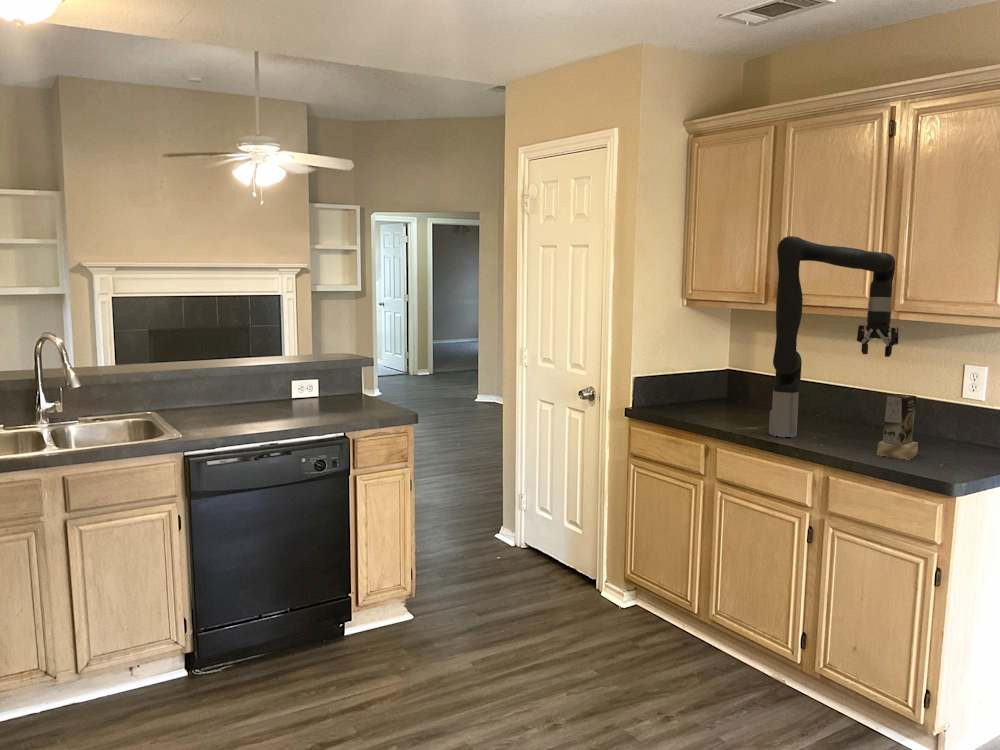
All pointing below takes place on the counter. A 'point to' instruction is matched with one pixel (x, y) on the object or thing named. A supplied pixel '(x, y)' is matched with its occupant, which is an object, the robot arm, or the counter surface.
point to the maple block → (898, 450)
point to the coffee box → (899, 419)
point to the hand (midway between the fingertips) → (876, 355)
